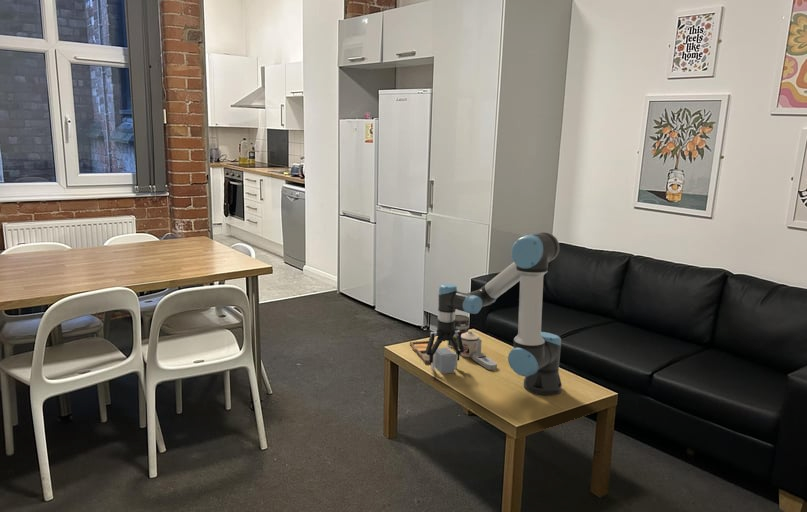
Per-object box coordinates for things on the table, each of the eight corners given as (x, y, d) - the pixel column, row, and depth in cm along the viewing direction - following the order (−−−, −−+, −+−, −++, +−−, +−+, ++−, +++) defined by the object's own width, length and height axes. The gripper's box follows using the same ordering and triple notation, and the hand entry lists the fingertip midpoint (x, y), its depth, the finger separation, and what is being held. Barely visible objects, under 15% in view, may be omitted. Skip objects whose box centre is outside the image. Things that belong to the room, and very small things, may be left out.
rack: (447, 362, 255) (447, 358, 255) (425, 364, 252) (425, 360, 252) (430, 343, 278) (430, 340, 278) (409, 345, 275) (409, 342, 275)
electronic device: (491, 350, 245) (471, 338, 258) (489, 371, 247) (469, 358, 260) (501, 349, 247) (481, 337, 260) (499, 369, 249) (479, 357, 262)
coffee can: (471, 347, 275) (473, 320, 272) (452, 349, 271) (453, 321, 269) (462, 340, 284) (464, 313, 281) (443, 342, 281) (445, 315, 278)
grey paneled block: (454, 372, 244) (454, 354, 243) (441, 373, 243) (441, 355, 241) (446, 364, 253) (447, 347, 251) (434, 365, 251) (434, 348, 249)
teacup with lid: (455, 353, 266) (456, 329, 264) (469, 349, 272) (470, 326, 269) (472, 361, 257) (473, 337, 255) (486, 357, 262) (488, 333, 260)
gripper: (467, 315, 250) (464, 363, 254) (418, 318, 244) (417, 367, 248) (473, 320, 243) (470, 369, 247) (424, 323, 237) (422, 373, 241)
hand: (443, 368), depth 248 cm, fingers open, 10 cm apart
